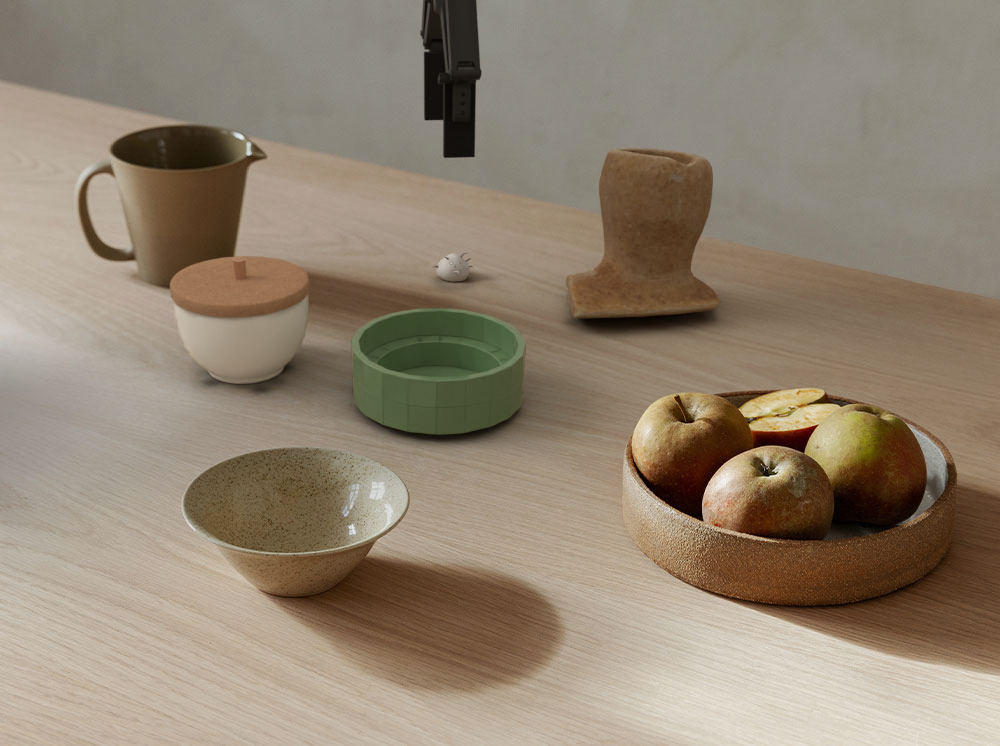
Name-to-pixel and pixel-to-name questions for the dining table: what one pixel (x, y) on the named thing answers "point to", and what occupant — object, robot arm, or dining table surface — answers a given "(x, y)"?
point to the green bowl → (438, 370)
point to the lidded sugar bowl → (241, 315)
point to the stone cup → (647, 237)
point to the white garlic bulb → (453, 268)
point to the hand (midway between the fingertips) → (447, 137)
